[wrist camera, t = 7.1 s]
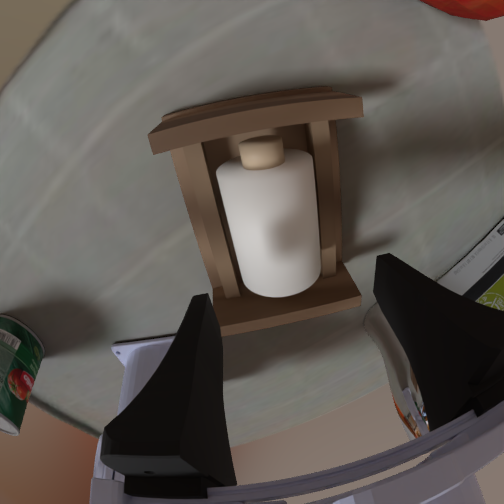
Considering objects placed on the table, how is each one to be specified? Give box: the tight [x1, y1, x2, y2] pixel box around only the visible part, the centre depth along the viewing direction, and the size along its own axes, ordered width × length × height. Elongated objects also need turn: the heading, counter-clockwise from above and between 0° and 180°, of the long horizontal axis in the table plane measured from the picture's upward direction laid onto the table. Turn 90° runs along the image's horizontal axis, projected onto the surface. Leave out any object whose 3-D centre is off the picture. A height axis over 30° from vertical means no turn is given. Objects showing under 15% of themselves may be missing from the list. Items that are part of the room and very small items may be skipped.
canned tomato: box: [0, 314, 45, 436], centre depth 21 cm, size 8×8×11 cm
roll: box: [216, 135, 321, 297], centre depth 17 cm, size 9×5×5 cm, turn 10°
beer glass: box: [364, 302, 448, 457], centre depth 22 cm, size 7×7×15 cm
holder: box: [148, 86, 364, 337], centre depth 18 cm, size 14×10×5 cm
